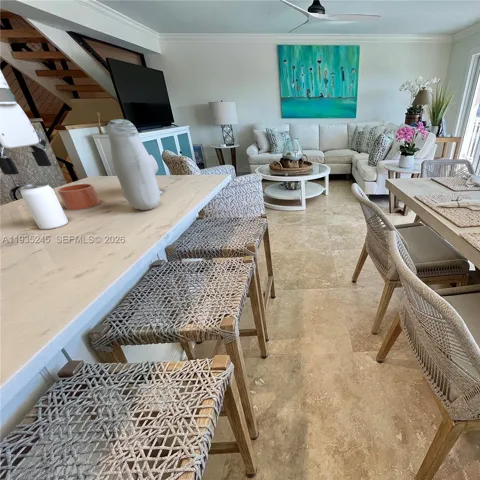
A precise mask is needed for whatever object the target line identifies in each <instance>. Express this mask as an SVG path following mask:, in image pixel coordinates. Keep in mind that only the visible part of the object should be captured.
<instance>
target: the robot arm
mask: <svg viewBox="0 0 480 480" xmlns="http://www.w3.org/2000/svg"><path fill="white" fill-rule="evenodd" d="M46 145H47V141H46V134H45V133H44V132H42V131H39V130H37V129H35V128H34V127H33V124H32V123H31V121H30V119H29V117H28V116H27V114H26V113H25V111H24V110H23V108H22V107H21V106H20V104H19V103H17V99H16V95H15V94H13V92H12V90H11V88H10V86H9V84H8V82H7V80H6V78H5V76H4V74H3V72H2V69H0V171H1V172H2V174H4V175H5V176H7V175H10V176H11V175H18V174H20V172H19V169H18V167H17V166H16V165H15V162H14V160H13V159H12V158H11V157H8V156H9V152H10V151H9V150H12V149H19V148H24V147H27V148H29V149H30V150H32V151H31V154H32V156H33V158H34V160H35V163H36V164H37V166H38V167H50V166H51V167H52V163H51V161H50V159H49V157H48V155H47V153H46V151H47V147H46Z"/></svg>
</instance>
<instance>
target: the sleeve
mask: <svg viewBox="0 0 480 480" xmlns="http://www.w3.org/2000/svg"><path fill="white" fill-rule="evenodd" d="M57 192H58V195H59V197H60V199H61V200H62V203H63V205H64V207H65V209H66V210H72V211H73V210H84V209H87V208H93V207H95V206H97V205H99V204H100V203H101V201H100V199H99V196H98V194H97V191H96V189H95V187H94V184H91V183H77V184H72V185H66V186H62V187H60V188H58V189H57Z"/></svg>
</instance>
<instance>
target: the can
mask: <svg viewBox="0 0 480 480" xmlns="http://www.w3.org/2000/svg"><path fill="white" fill-rule="evenodd" d="M19 189H20V195H21V197H22V199H23V201H24V203H25V205H26V207H27V209H28V210H29V212H30V214H31V216H32V219H34V221H35V223H36V225H37V227H38V228H39V229H41V230H44V231H47V230H48V231H49V230H55V229H59V228H62V227H64V226H66V225H68V223H69V220H68V218H67V216H66V214H65V212H64V209H63V207H62V205H61V203H60V201H59V198H58V197H57V195H56V193H55V191H54V189H53V188H52V187H51V186H50V185H49V183H47V182H39V183H32V184H31V183H30V184H26V185H22V186H20V187H19Z"/></svg>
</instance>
